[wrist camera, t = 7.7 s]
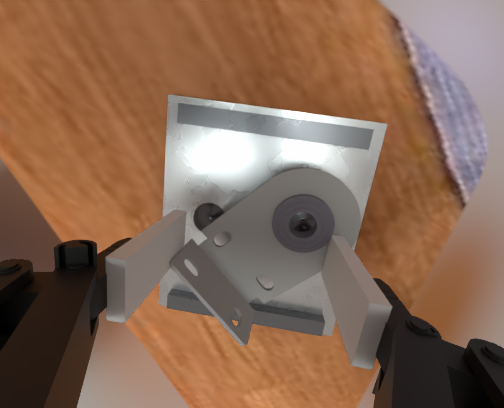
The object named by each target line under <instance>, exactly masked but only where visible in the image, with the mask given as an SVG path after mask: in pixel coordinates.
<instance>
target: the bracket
mask: <svg viewBox="0 0 504 408" xmlns="http://www.w3.org/2000/svg"><path fill="white" fill-rule="evenodd" d="M301 212H305V213H309V214H311V215H312V216H313V217H314V218H315V219H316V223H315V225H314V227H313V228H312V229H310V230H308V231H305V232H300V231H297V230H295V229H293V228H292V227H291V225H290V223H289V221H290V219H291V218H292V216H294V215H295V214H297V213H301ZM360 225H361V215H360V209H359V206H358V203H357V200H356V198H355V197H354V195H353V193H352V192H351V190H350V189H349V188H348V187H347V186H346V185H345V184H344V183H343V182H342V181H341V180H340V179H338V178H337V177H335V176H333V175H332V174H330V173H327V172H325V171H322V170H318V169H313V168H296V169H290V170H287V171H284V172H281V173H279V174H277V175H275V176H274V177H272V178H271V179H269V180H268V181H267V182H265V183H264V184H263V185H261V186H260V187H259V188H257V189H256V190H255V191H253V192H252V193H251V194H249V195H248V196H247V197H245V198H244V199H243V200H241V201H240V202H239V203H237V204H236V205H235V206H233V207H232V208H231V209H229V210H228V211H227V212H225V213H224V214H223V215H221V216H220V217H219V218H217V219H216V220H215V221H213V222H212V223H211V224H209V225H208V226H207V227H205V228H204V229H203V230H202V231H201V232H202V233H203V234H204V235H205V236H206V238H207V239H206V240H204V241H203V242H202V243H201V244H199V245H197V244H196V243H195V241H194V240H193V239H191V240H189V241H188V243H187V244H186V245H185V246H184V247H183V248H182V249H181V250H180V251H179V252H178V254H177V255H176V256H175V257H174V258H173V259H172V260H171V262H170V267H171V269H172V270H173V271H174V272H175V273H176V274H177V275H178V276H179V278H180V279H181V280H182V281H183V282H184V283H185V284H186V285H187V286H188V288H189V289H190V290H191V291H192V292H193V293H194V294H195V295H196V296H197V297H198V299H199V300H200V301H201V302H202V303H203V304H204V305H205V306H206V307H207V309H208V310H209V311H210V312H211V313H212V314H213V315H214V316H215V317H216V319H217V320H218V321H219V322H220V323H221V324H222V325H223V326H224V327H225V328H226V330H227V331H228V332H229V333H230V334H231V335H232V336H233V337H234V338H235V340H236V341H237V342H238V343H239V344H240V345H241V346H244V345H246V344H247V343H248V340H249V335H250V330H251V326H252V321H253V316H254V312H255V310H254V309H253V308H252V307H251V306H250V305H249V303H250V301H252V300H253V299H255V298H257V297H258V298H259V299H260V300H261V302H262V303H263V304H264V303H266V302H268V301H270V300H271V299H273V298H275V297H277V296H278V295H280V294H282V293H284V292H286V291H287V290H289V289H291V288H293V287H294V286H296V285H298V284H300V283H301V282H303V281H305V280H307V279H308V278H310V277H312V276H314V275H316V274H317V273H319V272H321V271H322V270H323V265H324V261H325V257H326V252H327V248H328V244H329V240H330V239H331V236H332V235H339V236H344V238H345V239H346V240H347V242H348V243H349V245H350V246H351V248H352V247H353V245H354V244H355V242H356V240H357V238H358V235H359V231H360ZM222 231H227V232H229V233H230V234H231V237H232V238H231V240H230V241H228V242H227V243H225V244H224V245H221V246H219V245H217V244H216V243H215V242H214V237H215V236H217V235H218V234H219V233H221V232H222ZM185 260H188V261H189V262H190V263H191V264H192V265H193V266H194V268H195V269H196V270H197V273H198V276H195V275H194V274H193V273H192V272H191V271H190V270H189V269H188V268H187V267H186V265H185ZM259 274H265V275H267V276H268V278H269V279H270V280H271V281H272V282H273V284H274V286H273V287H272V288H265V287H264V286H263V285H262V284H261V283H260V282H259V280H258V279H257V275H259ZM233 309H234V310H235V311H236V312H237V313H238V316H239V321H238V325H237V326H235V325H234V324H233V322H232V319H231V315H232V312H233Z"/></svg>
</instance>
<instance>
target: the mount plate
mask: <svg viewBox="0 0 504 408" xmlns="http://www.w3.org/2000/svg"><path fill="white" fill-rule="evenodd" d="M386 128H387V124H385V123H378V122H371V121H363V120H356V119H348V118H341V117H333V116H326V115H319V114H311V113H304V112H296V111H289V110H281V109H274V108H267V107H259V106H252V105H244V104H237V103H229V102H222V101H215V100H207V99H200V98H192V97H185V96H177V95H170V94H168V109H167V131H166V153H165V175H164V197H163V217H164V216H166V215H167V214H169V213H170V212H171V211H173V210H174V209H176V210H183V211H187V215H186V228H185V242H184V246H185V245H186V244H187V243H188V241H189V240H191V239H193V240H194V241H195V243H196V244H197V245H199V244H201V243H202V242H203V241H204V240H206V239H207V238H206V236H205V235H204V234H203V233H202V232H201V231H202V230H203V229H204V228H205V227H207V226H208V225H209V224H211V223H212V222H213V221H215V220H216V219H217V218H219V217H220V216H221V215H223V214H224V213H225V212H227V211H228V210H229V209H231V208H232V207H233V206H235V205H236V204H237V203H239V202H240V201H241V200H243V199H244V198H245V197H247V196H248V195H249V194H251V193H252V192H253V191H255V190H256V189H257V188H259V187H260V186H261V185H263V184H264V183H265V182H267V181H268V180H269V179H271V178H272V177H274V176H275V175H277V174H279V173H281V172H284V171H287V170H290V169H296V168H313V169H318V170H322V171H325V172H327V173H330V174H332V175H333V176H335V177H337V178H338V179H340V180H341V181H342V182H343V183H344V184H345V185H346V186H347V187H348V188H349V189H350V190H351V192H352V193H353V195H354V197H355V198H356V200H357V203H358V206H359V209H360V215H361V223H362V219H363V215H364V212H365V208H366V204H367V200H368V196H369V193H370V189H371V185H372V181H373V177H374V174H375V170H376V166H377V162H378V159H379V155H380V151H381V147H382V143H383V140H384V136H385V132H386ZM289 223H290V225H291V227H292V228H293V229H295V230H297V231H300V232H305V231H308V230H310V229H312V228H313V227H314V225H315V223H316V219H315V218H314V217H313V216H312V215H311V214H309V213H305V212H301V213H297V214H295V215H294V216H292V218H291V219H290V221H289ZM360 227H361V225H360ZM231 238H232V237H231V234H230V233H229V232H227V231H222V232H221V233H219V234H218V235H217V236H215V237H214V242H215V243H216V244H217V245H219V246H221V245H224V244H225V243H227V242H228V241H230V240H231ZM356 242H357V240H356ZM356 242H355V244H354V245H353V247H352V249H353V251H354V249H355V246H356ZM185 265H186V267H187V268H188V269H189V270H190V271H191V272H192V273H193V274H194V275H195V276H198V273H197V270H196V269H195V268H194V266H193V265H192V264H191V263H190V262H189V261H188V260H185ZM321 274H322V271H321V272H319V273H317V274H316V275H314V276H312V277H310V278H308V279H307V280H305V281H303V282H301V283H300V284H298V285H296V286H294V287H293V288H291V289H289V290H287V291H286V292H284V293H282V294H280V295H278V296H277V297H275V298H273V299H271V300H270V301H268V302H266V303H264V304H263V303H262V302H261V300H260V299H259V298H258V297H257V298H255V299H253V300H252V301H250V303H249V305H250V306H251V307H252V308H253V309H254V310H255V312H254V316H253V321H252V324H257V325H263V326H268V327H274V328H279V329H285V330H290V331H296V332H301V333H307V334H312V335H318V336H322V334H323V335H328V336H332V333H333V329H334V325H335V321H336V318H335V315H334V312H333V309H332V306H331V303H330V300H329V297H328V294H327V291H326V288H325V285H324V281H323V278H322V275H321ZM257 279H258V280H259V282H260V283H261V284H262V285H263V286H264V287H265V288H272V287H273V286H274V284H273V282H272V281H271V280H270V279H269V278H268V276H267V275H265V274H259V275H257ZM159 305H163V306H167V308H169V309H175V310H180V311H186V312H191V313H197V314H202V315H208V316H213V317H215V316H214V315H213V314H212V313H211V312H210V311H209V310H208V309H207V307H206V306H205V305H204V304H203V303H202V302H201V301H200V300H199V299H198V297H197V296H196V295H195V294H194V293H193V292H192V291H191V290H190V289H189V288H188V286H187V285H186V284H185V283H184V282H183V281H182V280H181V279H180V278H179V276H178V275H177V274H176V273H175V272H174V271H173V270H172V269H171V268H170V269H169V270H168V271H167V273H166V274H165V275H164V276H163V278H162V279H161V280H160V286H159ZM231 319H232V320H235V321H239V316H238V313H237V312H236V311H235V310H234V309H233V312H232V315H231Z"/></svg>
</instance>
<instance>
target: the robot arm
mask: <svg viewBox="0 0 504 408" xmlns="http://www.w3.org/2000/svg"><path fill="white" fill-rule="evenodd" d="M186 215H187V211H183V210H176V209H174V210H173V211H171V212H170V213H169V214H167V215H166V216H164V217H163V218H161V219H160V220H158V221H157V222H156V223H154V224H153V225H151V226H150V227H148V228H147V229H145V230H144V231H143V232H141V233H140V234H138V235H137V236H135V237H134V238H126V239H123V240H120V241H117V242H116V243H114V244H113V245H111V246H110V247H108V248H107V249H105V250H103V251H102V252H100V253H99V254H97V244H96V243H95V242H93V241H89V240H72V241H67V242H63V243H61V244H58V245H57V246H56V247H54V256H55V270H54V271H53V272H33V266H32V262H30V261H29V260H23V259H19V260H18V259H10V260H4V261H2V262H0V408H77V404H78V400H79V397H80V393H81V389H82V385H83V381H84V378H85V374H86V370H87V366H88V363H89V359H90V355H91V351H92V348H93V344H94V340H95V336H96V333H97V329H98V325H99V317H98V315H99V314H100V313H101V312H102V311H103V310H104V309H105V308H106V319H107V320H110V321H116V322H121V323H126V321H127V320H128V319H129V318H130V316H131V315H132V314H133V313H134V312H135V310H136V309H137V308H138V307H139V306H140V304H141V303H142V302H143V301H144V299H145V298H146V297H147V296H148V295H149V293H150V292H151V291H152V290H153V289H154V287H155V286H156V285H157V284H158V282H159V281H160V280H161V279H162V278H163V276H164V275H165V274H166V273H167V271H168V270H169V269H170V268H171V267H170V262H171V260H172V259H173V258H174V257H175V256H176V255H177V254H178V252H179V251H180V250H181V249H182V248H183V247H184V242H185V228H186ZM321 275H322V278H323V281H324V285H325V288H326V291H327V294H328V297H329V300H330V303H331V306H332V309H333V312H334V315H335V318H336V321H337V324H338V327H339V330H340V333H341V336H342V339H343V342H344V345H345V348H346V351H347V354H348V357H349V360H350V363H351V366H355V367H360V368H366V369H371V370H372V368H373V365H374V362H375V359H376V357H377V359H378V361H379V363H380V366H381V368H380V371H379V374H378V377H377V380H376V383H375V386H374V389H373V392H372V393H373V394H375V400H374V408H504V348H502V347H500V346H498V345H496V344H494V343H490V342H488V341H485V340H481V339H471V340H470V341H469V343H468V345H467V347H466V349H465V348H463V347H460V346H457V345H454V344H451V343H449V342H446V341H444V340H442V339H441V336H440V334H439V332H438V331H437V330H436V329H435V328H434V327H433V326H432V325H430V324H429V323H428V322H426V321H424V320H422V319H420V318H418V317H415V316H412V315H411V314H410V313H409V311H408V310H407V309H406V307H405V306H404V305H403V304H402V302H401V301H400V300H399V298H398V297H397V296H396V294H394V292H393V291H392V289H391V288H390V287H389V286H388V285H387V284H386V283H384V282H383V281H382V280H380V279H377V278H372V277H371V275H370V274H369V272H368V271H367V269H366V268H365V267H364V265H363V264H362V262H361V261H360V259H359V258H358V256H357V255H356V253H355V252H354V251H353V249H352V248H351V246H350V245H349V243H348V242H347V240H346V239H345V238H344V236H339V235H332V236H331V239H330V240H329V244H328V248H327V252H326V257H325V261H324V265H323V270H322V274H321Z"/></svg>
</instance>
